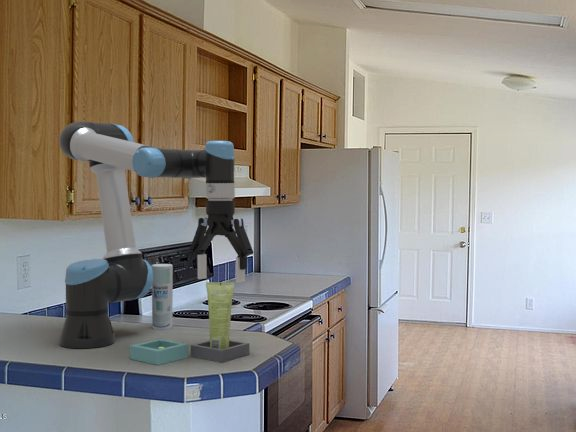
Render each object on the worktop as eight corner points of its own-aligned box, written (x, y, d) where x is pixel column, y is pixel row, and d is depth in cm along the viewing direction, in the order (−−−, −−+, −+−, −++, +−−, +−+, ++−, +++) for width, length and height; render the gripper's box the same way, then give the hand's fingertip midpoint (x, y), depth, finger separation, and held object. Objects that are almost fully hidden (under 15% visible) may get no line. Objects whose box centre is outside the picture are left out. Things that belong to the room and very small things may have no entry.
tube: (221, 351, 194) (221, 280, 194) (234, 355, 191) (234, 281, 190) (205, 355, 190) (205, 282, 189) (218, 358, 187) (218, 284, 186)
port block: (130, 359, 186) (130, 343, 186) (160, 351, 194) (160, 336, 194) (158, 365, 180) (158, 348, 180) (187, 357, 188) (187, 341, 188)
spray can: (174, 326, 230) (174, 263, 229) (170, 330, 223) (170, 266, 222) (154, 325, 230) (154, 263, 229) (149, 330, 223) (149, 266, 223)
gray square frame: (190, 356, 189) (190, 344, 189) (218, 348, 198) (218, 337, 198) (221, 362, 183) (221, 350, 183) (249, 354, 192) (249, 343, 191)
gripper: (176, 199, 193) (177, 278, 194) (247, 200, 178) (248, 285, 179) (195, 199, 199) (196, 275, 200) (266, 199, 184) (266, 282, 185)
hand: (220, 280), depth 189 cm, fingers open, 13 cm apart
